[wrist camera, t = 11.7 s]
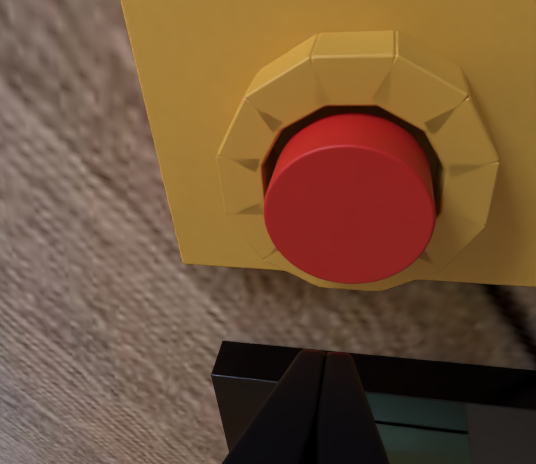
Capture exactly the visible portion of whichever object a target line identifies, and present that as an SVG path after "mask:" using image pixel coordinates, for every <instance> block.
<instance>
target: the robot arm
mask: <svg viewBox="0 0 536 464" xmlns="http://www.w3.org/2000/svg"><path fill="white" fill-rule="evenodd" d="M222 464H390V462H389V459H388V457H387V454H386V451H385V448H384V445H383V442H382V440H381V437H380V434H379V431H378V428H377V425H376V423H375V420H374V417H373V414H372V411H371V408H370V406H369V403H368V400H367V397H366V394H365V391H364V389H363V386H362V383H361V380H360V377H359V374H358V372H357V369H356V366H355V363H354V360H353V358H352V356H351V355H350V354H348V353H340V352H328V353H327V354H325V352H323V351H319V350H308V349H304V350H301V351H300V352H299V353H298V355H297V356H296V357H295V359H294V360H293V362H292V363H291V365H290V366H289V368H288V369H287V370H286V372H285V373H284V375H283V376H282V378H281V379H280V380H279V382H278V383H277V385H276V386H275V388H274V389H273V390H272V392H271V393H270V395H269V396H268V398H267V399H266V401H265V402H264V403H263V405H262V406H261V408H260V409H259V411H258V412H257V413H256V415H255V416H254V418H253V419H252V421H251V422H250V424H249V425H248V426H247V428H246V429H245V431H244V432H243V434H242V435H241V436H240V438H239V439H238V441H237V442H236V444H235V445H234V447H233V448H232V449H231V451H230V452H229V454H228V455H227V457H226V458H225V459H224V461H223V462H222Z"/></svg>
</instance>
